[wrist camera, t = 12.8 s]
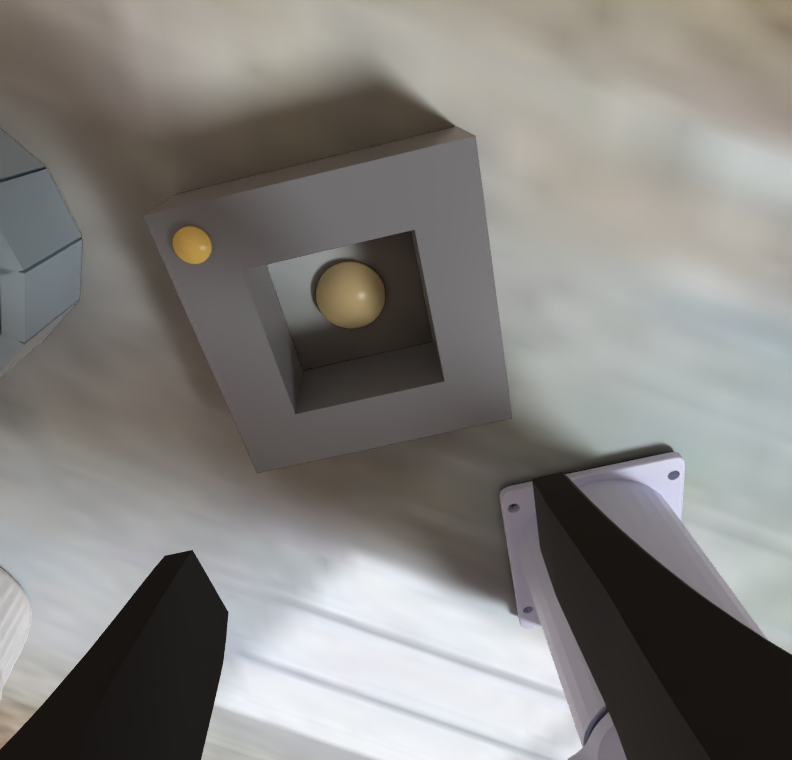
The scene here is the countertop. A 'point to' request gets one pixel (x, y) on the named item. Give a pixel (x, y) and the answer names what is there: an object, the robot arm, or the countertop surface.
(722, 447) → the countertop surface
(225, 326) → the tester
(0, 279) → the grey round bowl
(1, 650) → the ramekin
